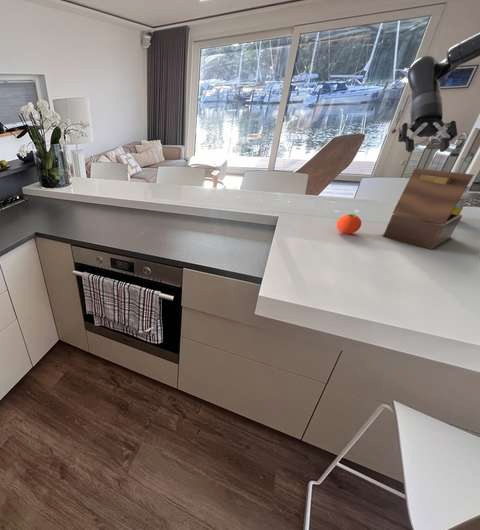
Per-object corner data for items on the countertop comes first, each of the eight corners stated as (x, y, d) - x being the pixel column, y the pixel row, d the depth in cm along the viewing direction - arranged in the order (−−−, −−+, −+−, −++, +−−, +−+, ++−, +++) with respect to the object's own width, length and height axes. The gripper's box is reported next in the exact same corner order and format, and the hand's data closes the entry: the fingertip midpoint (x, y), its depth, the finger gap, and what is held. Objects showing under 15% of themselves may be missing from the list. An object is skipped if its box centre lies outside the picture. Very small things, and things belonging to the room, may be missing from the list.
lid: (415, 168, 89) (409, 167, 87) (474, 174, 79) (468, 174, 77) (393, 213, 95) (386, 214, 93) (444, 224, 85) (439, 225, 83)
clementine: (334, 226, 108) (340, 208, 104) (357, 230, 104) (364, 211, 101) (333, 235, 102) (339, 216, 99) (357, 238, 99) (364, 219, 95)
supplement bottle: (429, 214, 111) (445, 181, 104) (453, 217, 107) (472, 182, 101) (432, 220, 106) (449, 186, 100) (457, 223, 102) (477, 187, 96)
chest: (402, 226, 104) (411, 205, 100) (450, 237, 94) (462, 215, 90) (383, 235, 99) (392, 214, 95) (431, 249, 89) (443, 226, 85)
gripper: (406, 103, 98) (406, 144, 95) (461, 99, 94) (464, 142, 90) (394, 119, 105) (394, 157, 102) (445, 116, 100) (446, 157, 97)
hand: (427, 150), depth 96 cm, fingers open, 8 cm apart
